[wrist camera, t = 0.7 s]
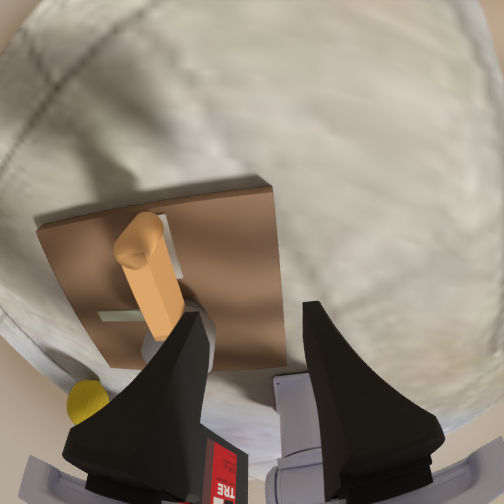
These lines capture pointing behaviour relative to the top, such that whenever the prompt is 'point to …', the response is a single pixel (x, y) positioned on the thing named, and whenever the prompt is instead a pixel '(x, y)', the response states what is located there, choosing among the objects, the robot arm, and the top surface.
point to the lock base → (180, 275)
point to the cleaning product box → (221, 471)
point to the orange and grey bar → (155, 282)
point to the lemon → (86, 400)
